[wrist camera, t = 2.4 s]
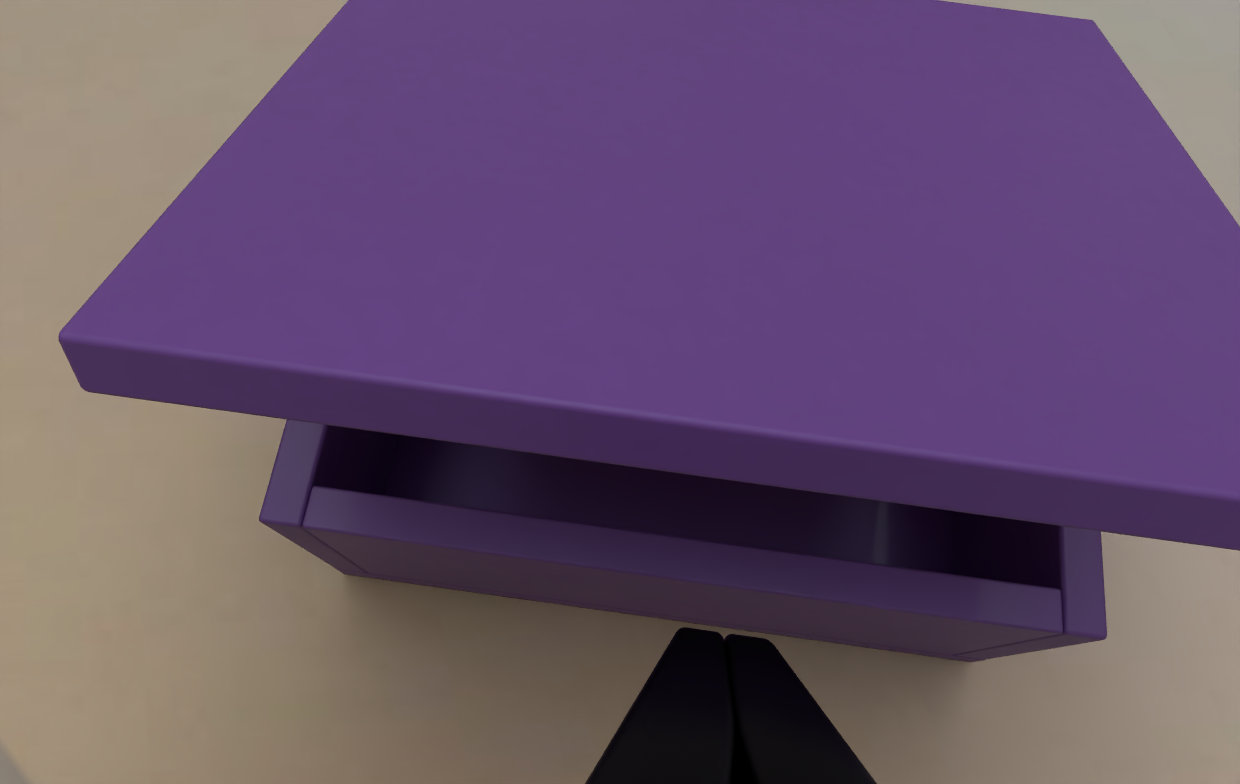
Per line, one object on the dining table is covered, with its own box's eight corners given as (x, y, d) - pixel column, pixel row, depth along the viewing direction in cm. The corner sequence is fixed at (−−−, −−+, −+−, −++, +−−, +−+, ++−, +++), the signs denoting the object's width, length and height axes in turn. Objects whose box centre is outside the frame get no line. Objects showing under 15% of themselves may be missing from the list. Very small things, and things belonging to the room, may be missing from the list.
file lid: (1398, 575, 9) (1459, 527, 8) (80, 393, 9) (52, 334, 8) (1076, 59, 18) (1094, 19, 17) (409, -27, 18) (406, -70, 17)
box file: (973, 662, 19) (1109, 640, 14) (342, 574, 19) (256, 520, 14) (969, 200, 23) (1073, 56, 18) (450, 131, 23) (412, -29, 18)
